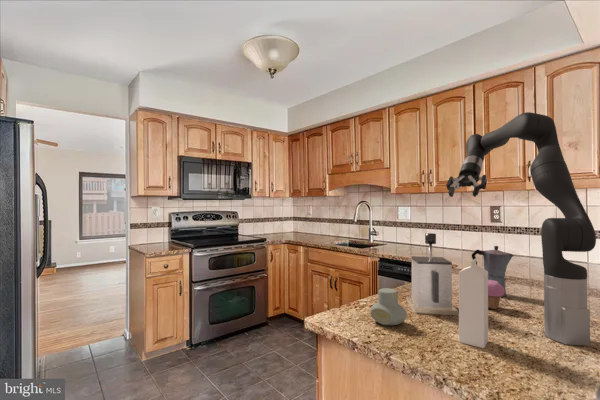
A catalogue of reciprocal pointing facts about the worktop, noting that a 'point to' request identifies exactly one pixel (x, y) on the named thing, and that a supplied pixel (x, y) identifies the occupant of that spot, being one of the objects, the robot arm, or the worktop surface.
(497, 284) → the cupcake
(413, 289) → the arcade joystick
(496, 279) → the moka pot
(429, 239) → the joystick lever
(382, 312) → the air freshener
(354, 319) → the worktop surface
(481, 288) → the milk
